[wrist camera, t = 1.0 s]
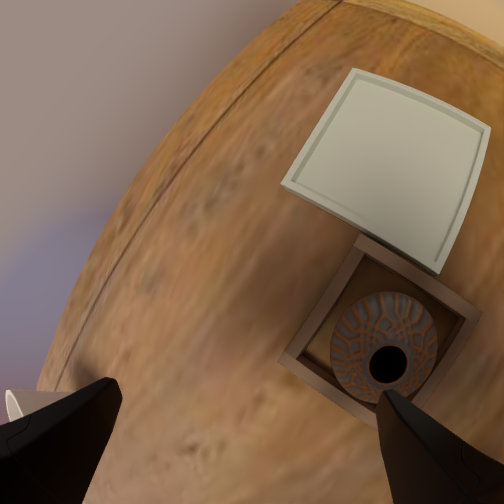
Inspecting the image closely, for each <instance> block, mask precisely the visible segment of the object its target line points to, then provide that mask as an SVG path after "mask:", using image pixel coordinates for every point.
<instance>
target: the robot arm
mask: <svg viewBox="0 0 504 504" xmlns="http://www.w3.org/2000/svg"><path fill="white" fill-rule="evenodd" d="M121 403H122V393H121V391H120V388H119V385H118V383H117V381H116V380H115V379H113V378H109V377H104V378H102V379H100V380H98V381H96V382H94V383H92V384H90V385H88V386H86V387H84V388H82V389H80V390H78V391H76V392H74V393H72V394H70V395H68V396H66V397H64V398H62V399H60V400H58V401H56V402H54V403H52V404H49V405H47V406H45V407H43V408H41V409H39V410H37V411H34V412H33V413H30V414H28V415H26V416H23V417H21V418H19V419H16V420H14V421H11V422H8V423H6V424H3V425H0V504H82V502H83V500H84V497H85V495H86V492H87V490H88V487H89V485H90V482H91V480H92V478H93V475H94V473H95V471H96V468H97V466H98V463H99V461H100V459H101V457H102V454H103V452H104V450H105V447H106V445H107V443H108V441H109V438H110V436H111V434H112V431H113V428H114V425H115V422H116V418H117V415H118V412H119V409H120V406H121ZM376 419H377V426H378V433H379V440H380V447H381V452H382V457H383V460H384V464H385V468H386V472H387V477H388V481H389V485H390V489H391V494H392V498H393V503H394V504H504V465H503V464H501V463H500V462H498V461H496V460H494V459H492V458H490V457H488V456H487V455H485V454H483V453H481V452H480V451H478V450H477V449H475V448H474V447H472V446H471V445H469V444H468V443H466V442H465V441H462V439H461V438H459V437H458V436H457V435H455V434H454V433H452V432H451V431H450V430H448V429H447V428H445V427H444V426H443V425H441V424H440V423H439V422H437V421H436V420H434V419H433V418H432V417H430V416H429V415H428V414H426V413H425V412H424V411H422V410H421V409H420V408H418V407H417V406H415V405H414V404H413V403H411V402H410V401H409V400H407V399H406V398H405V397H403V396H402V395H401V394H399V393H398V392H397V391H395V390H385V391H383V392H382V393H381V395H380V398H379V401H378V404H377V406H376Z"/></svg>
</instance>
